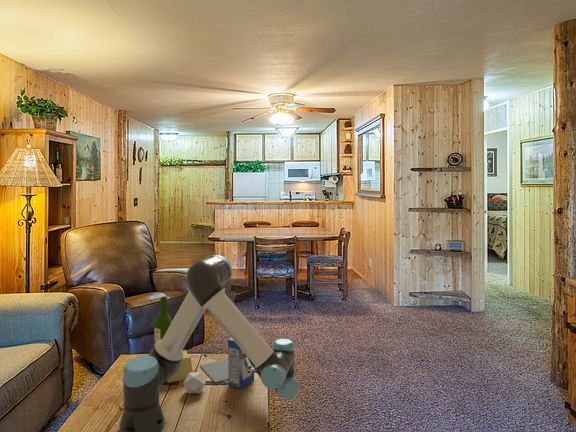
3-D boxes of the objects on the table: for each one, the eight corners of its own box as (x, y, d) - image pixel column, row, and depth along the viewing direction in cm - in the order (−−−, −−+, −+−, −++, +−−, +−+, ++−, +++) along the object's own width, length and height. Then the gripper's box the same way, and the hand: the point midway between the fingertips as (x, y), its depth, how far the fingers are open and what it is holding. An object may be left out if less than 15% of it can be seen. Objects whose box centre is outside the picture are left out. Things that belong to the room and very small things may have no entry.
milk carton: (240, 389, 179) (239, 342, 178) (228, 385, 183) (227, 339, 181) (254, 380, 188) (254, 335, 186) (243, 376, 191) (242, 332, 190)
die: (194, 401, 171) (208, 378, 173) (176, 388, 172) (190, 367, 175) (198, 398, 179) (211, 377, 181) (181, 387, 180) (194, 366, 183)
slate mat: (214, 383, 185) (214, 381, 185) (199, 366, 202) (199, 365, 202) (253, 373, 194) (253, 372, 194) (235, 358, 211) (235, 357, 211)
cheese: (163, 374, 194) (162, 352, 193) (187, 369, 199) (187, 348, 198) (167, 383, 185) (166, 361, 184) (192, 379, 189) (192, 356, 188)
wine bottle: (151, 366, 202) (149, 298, 200) (167, 360, 209) (165, 294, 207) (163, 371, 196) (161, 301, 194) (178, 365, 204) (177, 297, 201)
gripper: (255, 387, 159) (231, 364, 180) (286, 379, 166) (259, 358, 186) (255, 367, 159) (230, 346, 179) (286, 360, 165) (259, 341, 186)
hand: (245, 352), depth 183 cm, fingers closed
